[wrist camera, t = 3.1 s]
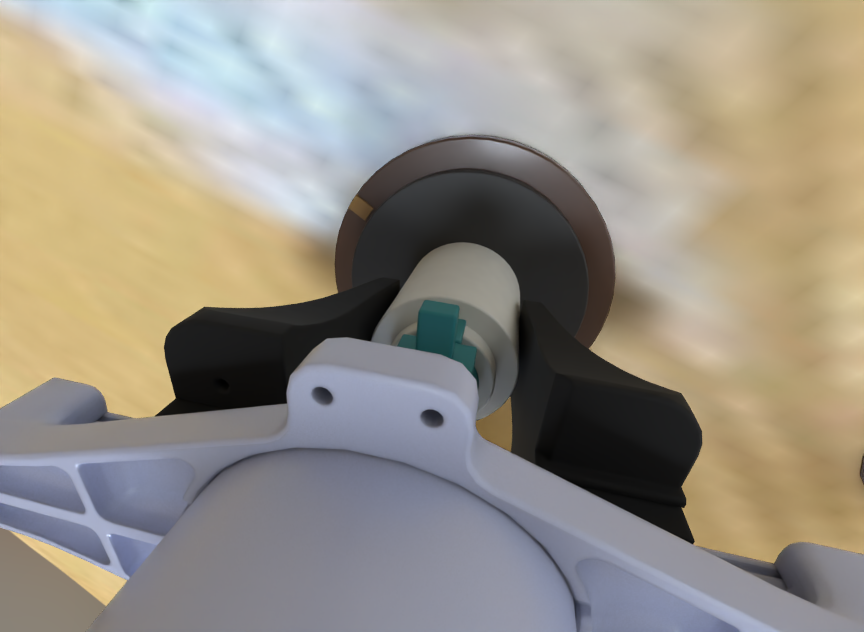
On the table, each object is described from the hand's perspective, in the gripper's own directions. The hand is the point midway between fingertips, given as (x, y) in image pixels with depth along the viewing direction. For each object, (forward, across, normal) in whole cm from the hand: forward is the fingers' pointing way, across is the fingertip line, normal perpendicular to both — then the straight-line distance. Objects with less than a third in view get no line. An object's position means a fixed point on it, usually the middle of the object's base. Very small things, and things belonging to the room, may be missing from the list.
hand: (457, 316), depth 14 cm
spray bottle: (+2, 0, 0) cm, 2 cm away
